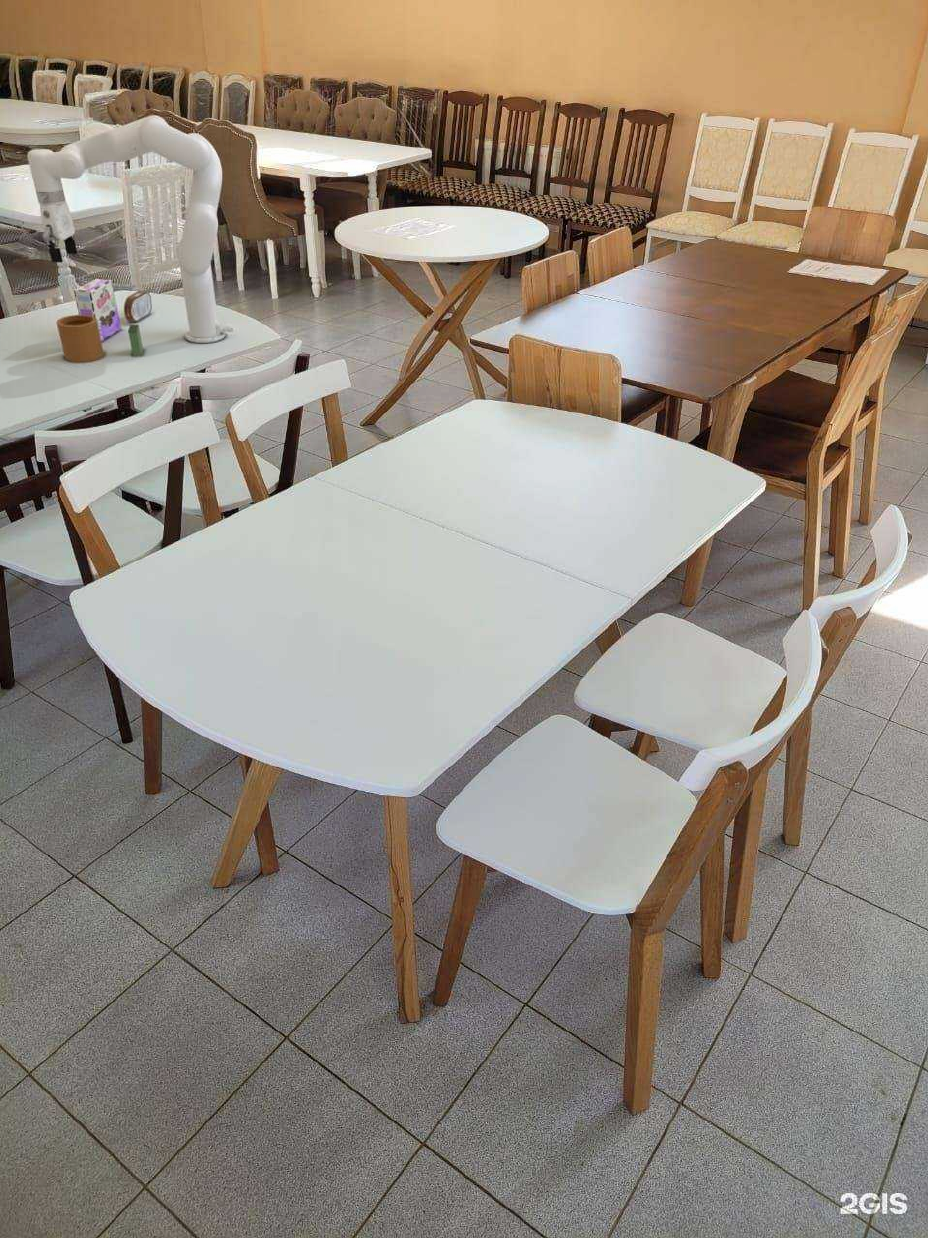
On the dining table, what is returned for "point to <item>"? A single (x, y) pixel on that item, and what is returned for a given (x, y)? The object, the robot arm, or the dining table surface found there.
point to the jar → (80, 338)
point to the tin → (137, 306)
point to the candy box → (99, 305)
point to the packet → (135, 340)
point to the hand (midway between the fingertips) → (65, 257)
